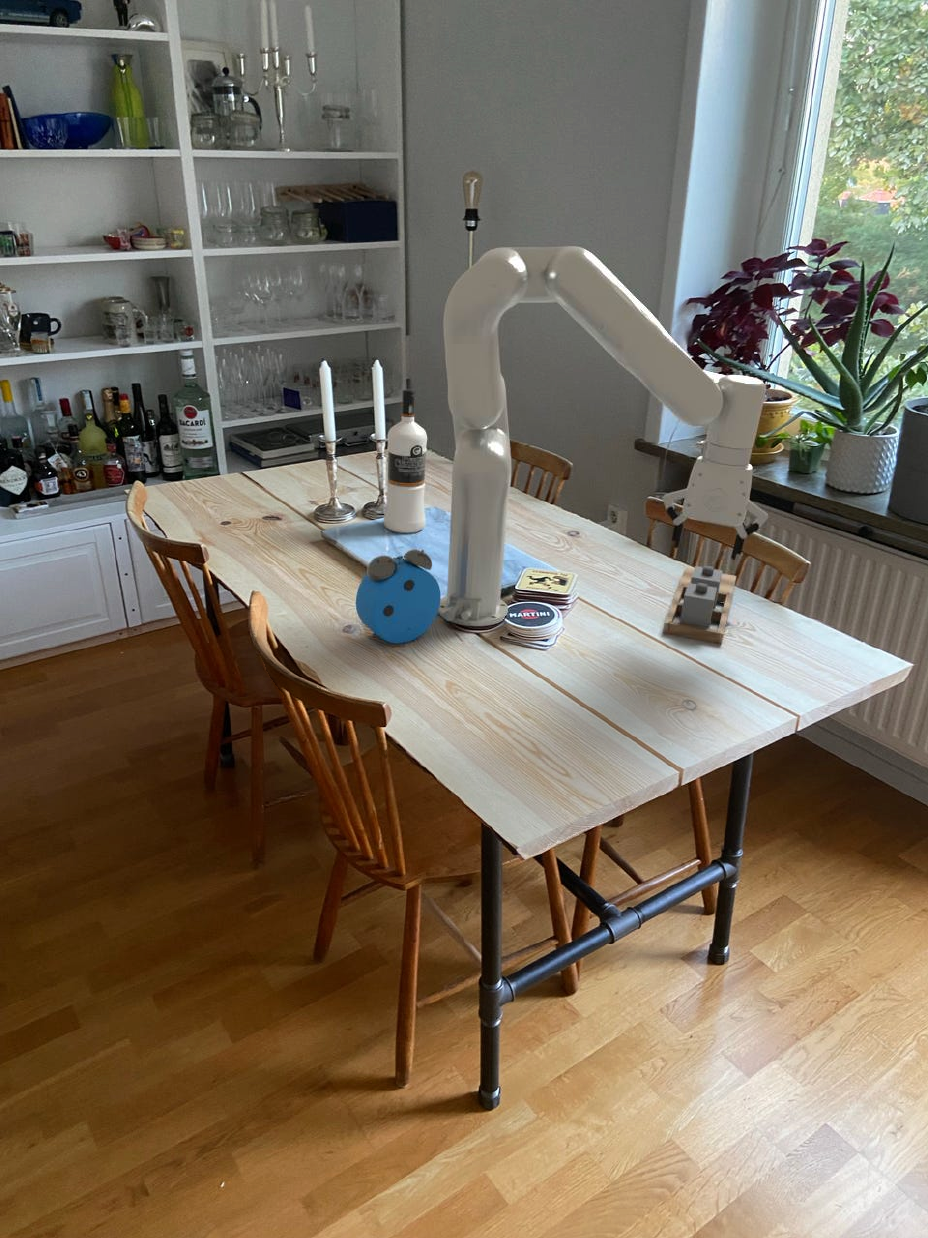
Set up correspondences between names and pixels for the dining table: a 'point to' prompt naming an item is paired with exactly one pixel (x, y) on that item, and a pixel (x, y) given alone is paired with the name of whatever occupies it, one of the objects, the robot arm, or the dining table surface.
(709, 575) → the grey knobbed block
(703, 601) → the plug
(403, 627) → the alarm clock
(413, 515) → the vodka
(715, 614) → the wooden crate frame
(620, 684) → the dining table surface
